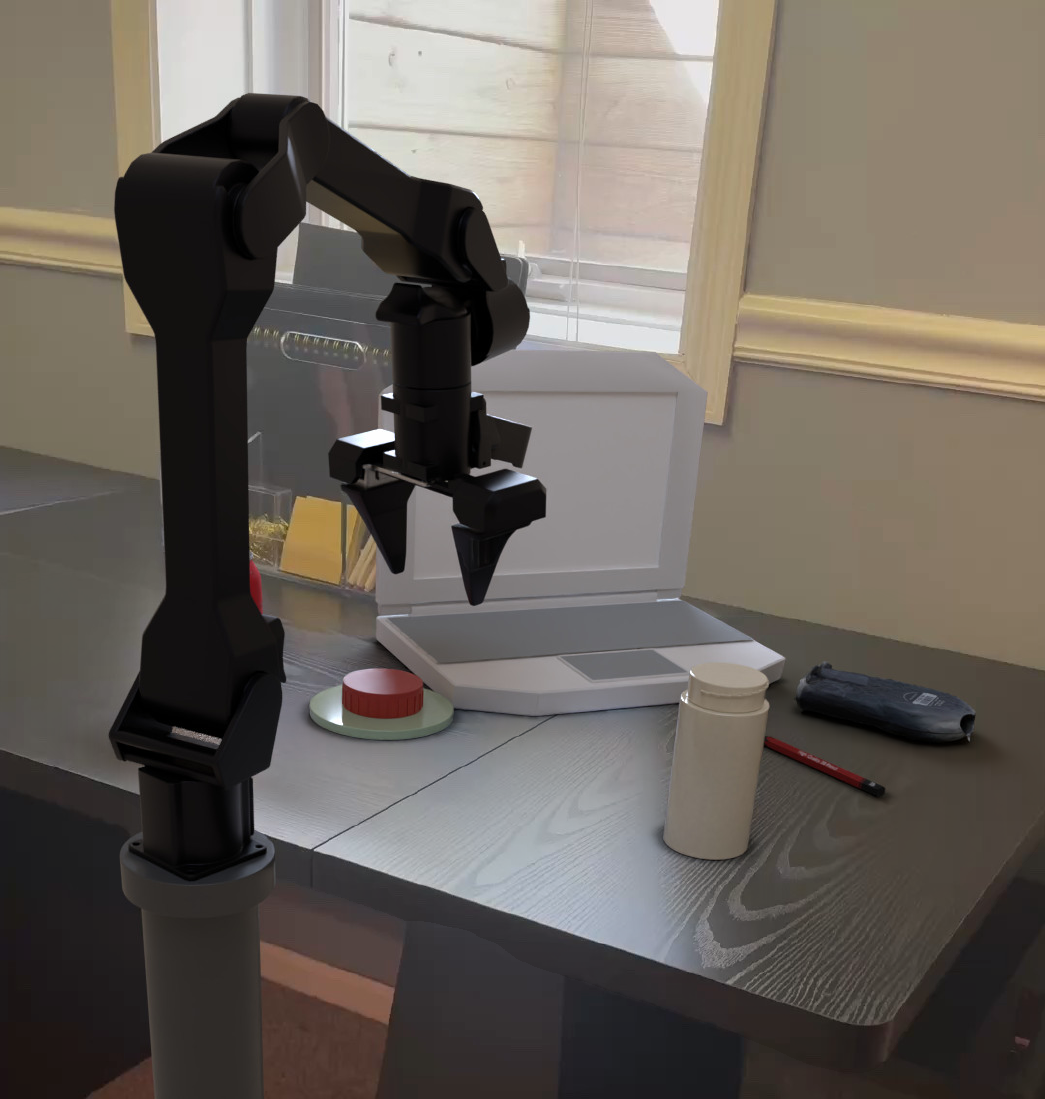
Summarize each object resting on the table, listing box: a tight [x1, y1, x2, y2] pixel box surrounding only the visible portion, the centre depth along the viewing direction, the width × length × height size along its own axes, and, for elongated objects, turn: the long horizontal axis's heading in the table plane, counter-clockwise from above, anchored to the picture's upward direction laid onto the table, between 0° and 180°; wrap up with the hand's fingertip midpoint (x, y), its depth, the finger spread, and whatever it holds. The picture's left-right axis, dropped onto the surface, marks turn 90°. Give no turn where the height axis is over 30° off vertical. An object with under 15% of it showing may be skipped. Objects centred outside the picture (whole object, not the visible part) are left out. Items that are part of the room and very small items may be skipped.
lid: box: [341, 667, 424, 719], centre depth 118 cm, size 7×7×2 cm
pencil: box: [764, 735, 886, 798], centre depth 114 cm, size 1×14×1 cm, turn 37°
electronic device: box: [793, 661, 977, 744], centre depth 125 cm, size 9×6×15 cm
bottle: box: [662, 663, 770, 861], centre depth 97 cm, size 6×6×12 cm
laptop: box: [374, 349, 787, 717], centre depth 127 cm, size 33×24×26 cm
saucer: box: [308, 684, 455, 741], centre depth 118 cm, size 12×12×1 cm
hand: (436, 588), depth 111 cm, fingers open, 9 cm apart
